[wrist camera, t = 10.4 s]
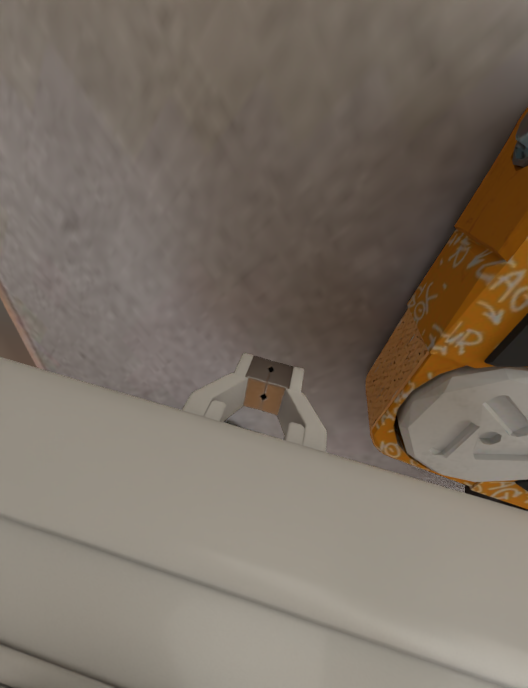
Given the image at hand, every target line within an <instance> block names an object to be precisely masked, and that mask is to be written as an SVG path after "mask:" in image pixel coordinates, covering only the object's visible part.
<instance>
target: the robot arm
mask: <svg viewBox="0 0 528 688" xmlns="http://www.w3.org/2000/svg"><path fill="white" fill-rule="evenodd" d="M303 375H304V369H303V368H299V367H293V366H290V365H286V364H282V363H278V362H275V361H271V360H268V359H265V358H261V357H258V356H254V355H251V354H247V353H243V354H242V357H241V359H240V361H239V363H238V365H237V367H236V370H235V372H234V374H232V373H230V374H228V375H226V376H224V377H222V378H220V379H218V380H216V381H214V382H212V383H210V384H208V385H206V386H204V387H202V388H200V389H198V390H196V391H194V392H192V394H191V395H190V397H189V399H188V400H187V402H186V404H185V405H184V407H183V408H182V410H179V409H176V408H172V407H169V406H165V405H162V404H158V403H155V402H152V401H148V400H145V399H141V398H138V397H134V396H131V395H128V394H124V393H121V392H117V391H114V390H111V389H107V388H104V387H100V386H97V385H93V384H90V383H87V382H83V381H80V380H76V379H73V378H70V377H66V376H63V375H59V374H56V373H53V372H49V371H46V370H42V369H39V368H35V367H32V366H29V365H25V364H22V363H18V362H15V361H12V360H9V359H5V358H2V357H0V688H528V511H525V510H521V509H518V508H514V507H511V506H508V505H504V504H501V503H497V502H494V501H490V500H487V499H484V498H480V497H477V496H473V495H470V494H466V493H463V492H460V491H456V490H453V489H449V488H446V487H443V486H439V485H436V484H432V483H429V482H425V481H422V480H419V479H415V478H412V477H408V476H405V475H401V474H398V473H395V472H391V471H388V470H384V469H381V468H378V467H374V466H371V465H367V464H364V463H360V462H357V461H354V460H350V459H347V458H343V457H340V456H336V455H333V454H329V453H326V443H327V431H326V429H325V427H324V426H323V424H322V422H321V421H320V419H319V418H318V416H317V414H316V413H315V411H314V409H313V408H312V406H311V404H310V403H309V401H308V399H307V398H306V396H305V394H304V393H301V389H302V382H303ZM243 406H247V407H251V408H254V409H258V410H262V411H265V412H268V413H271V414H275V415H278V416H277V417H278V419H279V422H280V425H281V427H282V430H283V433H284V435H285V436H284V439H283V440H282V439H278V438H275V437H272V436H268V435H265V434H261V433H258V432H254V431H251V430H248V429H244V428H241V427H237V426H234V425H230V424H227V423H224V421H225V420H226V419H227V418H228V417H230V416H231V415H232V414H234V413H235V412H236V411H238V410H239V409H240V408H242V407H243Z"/></svg>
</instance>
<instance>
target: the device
mask: <svg viewBox="0 0 528 688" xmlns="http://www.w3.org/2000/svg"><path fill="white" fill-rule="evenodd" d="M454 227H455V228H456V230H455V231H454V233H453V234H452V236H451V237H450V239H449V241H448V242H447V244H446V245H445V247H444V248H443V250H442V251H441V253H440V254H439V256H438V257H437V259H436V261H435V262H434V264H433V265H432V267H431V268H430V270H429V271H428V273H427V274H426V276H425V277H424V279H423V280H422V282H421V284H420V285H419V287H418V288H417V290H416V291H415V293H414V294H413V296H412V297H411V299H410V300H409V302H408V303H407V306H408V309H407V311H406V312H405V314H404V316H403V317H402V319H401V320H400V322H399V324H398V325H397V327H396V329H395V330H394V332H393V334H392V335H391V337H390V339H389V340H388V342H387V344H386V345H385V347H384V348H383V350H382V352H381V353H380V355H379V357H378V358H377V360H376V362H375V363H374V365H373V366H372V368H371V370H370V371H369V373H368V374H367V377H366V396H367V406H368V415H369V425H370V436H371V438H372V441H373V444H374V446H375V447H376V448H377V449H378V450H379V451H380V452H382V453H383V454H385V455H387V456H389V457H392V458H394V459H397V460H400V461H402V462H405V463H408V464H411V465H413V466H416V467H419V468H421V469H424V470H427V471H429V472H432V473H435V474H438V475H440V476H443V477H446V478H448V479H451V480H454V481H457V482H459V483H462V484H465V493H466V494H470V495H473V496H477V497H480V498H484V499H487V500H490V501H494V502H497V503H501V504H504V505H508V506H511V507H514V508H518V509H521V510H525V511H528V107H527V109H526V110H525V112H524V113H523V114H522V116H521V117H520V118H519V120H518V122H517V124H516V126H515V128H514V130H513V131H512V133H511V135H510V137H509V139H508V140H507V142H506V144H505V145H504V147H503V149H502V150H501V152H500V154H499V155H498V157H497V159H496V160H495V162H494V164H493V165H492V167H491V169H490V170H489V172H488V173H487V175H486V176H485V178H484V180H483V181H482V183H481V184H480V186H479V188H478V189H477V191H476V192H475V194H474V196H473V197H472V199H471V200H470V202H469V204H468V205H467V207H466V208H465V210H464V212H463V213H462V215H461V216H460V218H459V220H458V221H457V223H456V224H455V226H454Z"/></svg>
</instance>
